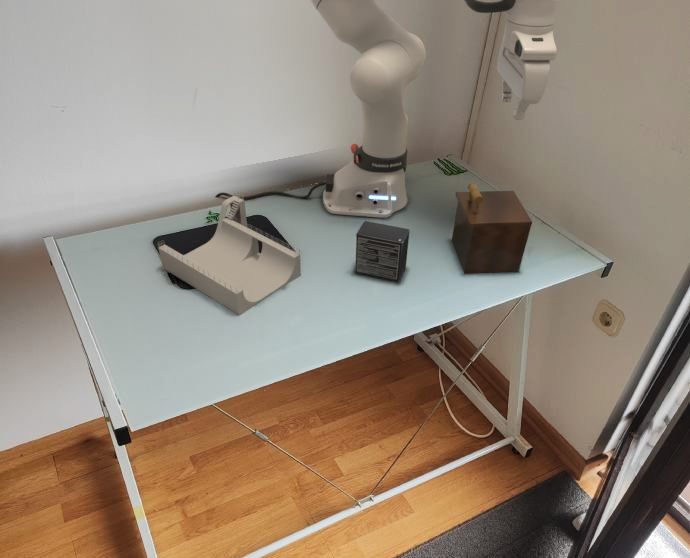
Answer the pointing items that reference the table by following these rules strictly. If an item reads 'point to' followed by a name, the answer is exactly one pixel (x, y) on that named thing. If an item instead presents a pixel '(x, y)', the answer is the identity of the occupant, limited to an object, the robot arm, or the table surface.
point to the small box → (381, 251)
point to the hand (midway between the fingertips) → (511, 109)
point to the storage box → (488, 246)
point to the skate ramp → (235, 262)
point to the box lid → (492, 208)
